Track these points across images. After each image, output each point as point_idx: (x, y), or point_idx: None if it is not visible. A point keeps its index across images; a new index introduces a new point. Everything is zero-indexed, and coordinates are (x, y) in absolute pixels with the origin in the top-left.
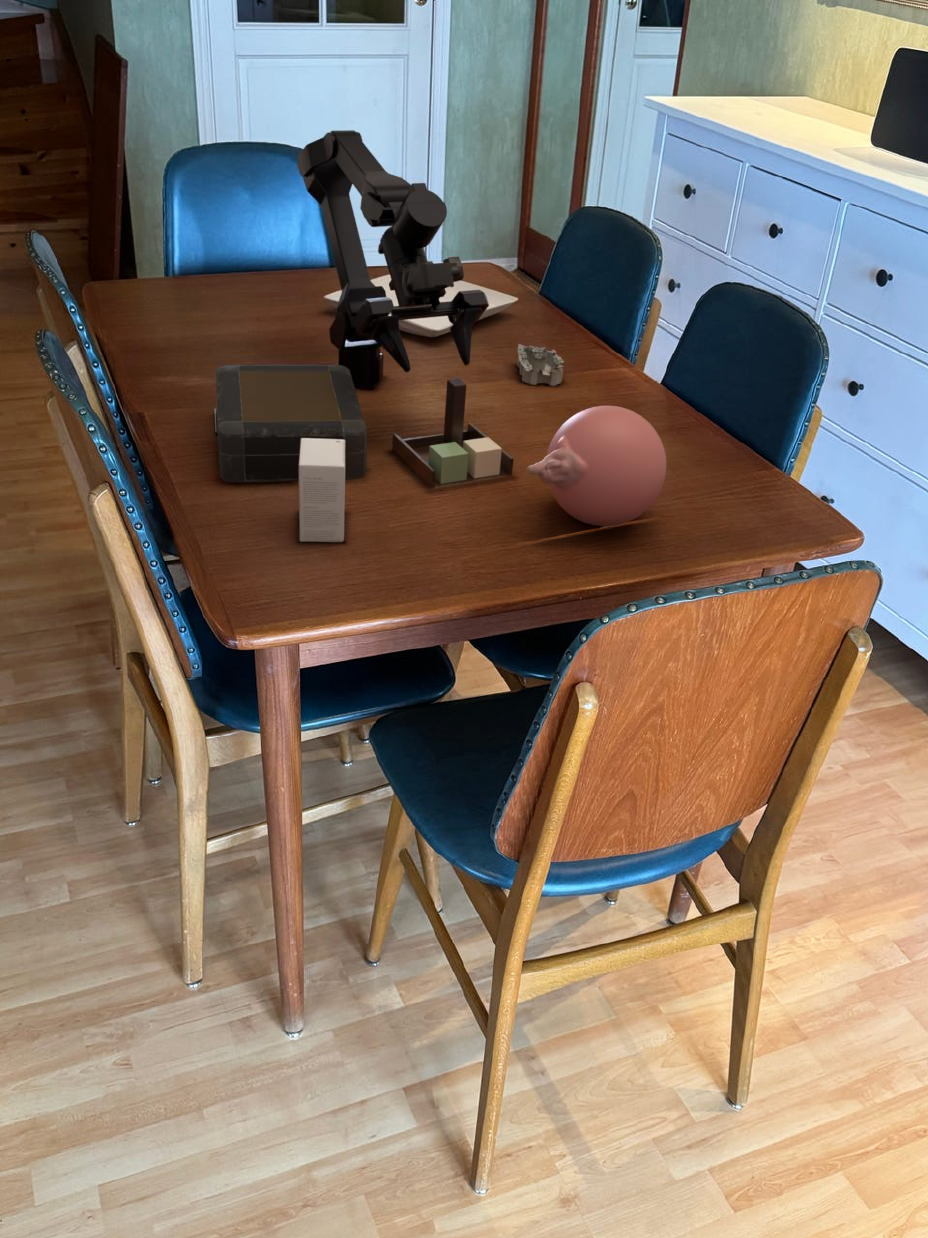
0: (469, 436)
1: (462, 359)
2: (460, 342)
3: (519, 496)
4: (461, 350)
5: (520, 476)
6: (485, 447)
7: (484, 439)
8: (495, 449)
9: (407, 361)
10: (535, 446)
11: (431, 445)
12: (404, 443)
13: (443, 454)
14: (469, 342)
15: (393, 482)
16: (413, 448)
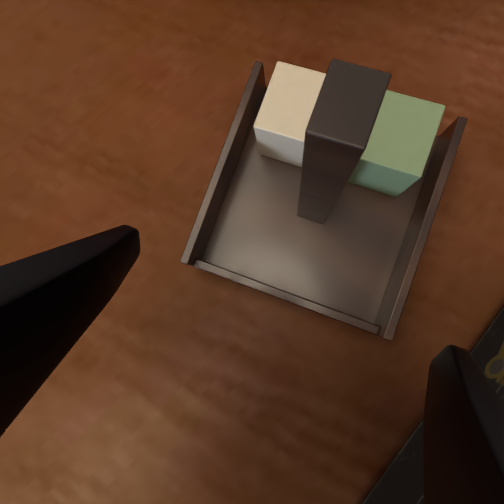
0: (200, 254)
1: (121, 276)
2: (44, 331)
3: (308, 29)
4: (86, 300)
5: (238, 87)
6: (307, 85)
7: (272, 121)
8: (294, 65)
9: (475, 377)
10: (106, 164)
11: (415, 175)
12: (411, 276)
13: (429, 116)
14: (26, 263)
15: (478, 223)
16: (333, 306)
